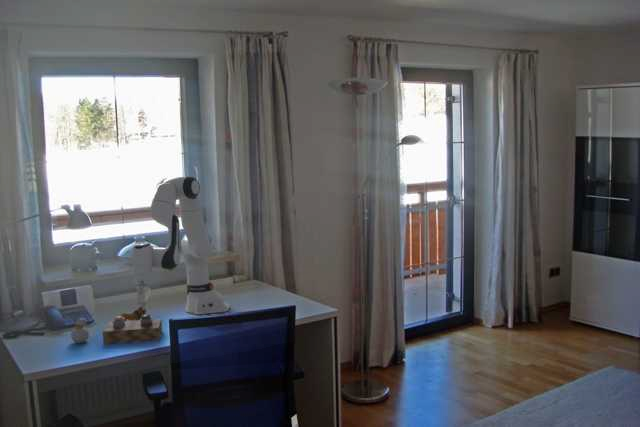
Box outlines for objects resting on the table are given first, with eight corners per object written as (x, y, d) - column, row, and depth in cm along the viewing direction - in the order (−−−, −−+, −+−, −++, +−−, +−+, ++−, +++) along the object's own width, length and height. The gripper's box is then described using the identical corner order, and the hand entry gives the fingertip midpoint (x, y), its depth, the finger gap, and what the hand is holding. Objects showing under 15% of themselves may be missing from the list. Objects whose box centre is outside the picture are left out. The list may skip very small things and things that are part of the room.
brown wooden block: (162, 331, 308) (161, 318, 307) (159, 340, 294) (158, 327, 294) (109, 334, 305) (108, 322, 304) (103, 344, 291) (102, 331, 290)
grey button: (152, 325, 302) (151, 313, 302) (151, 328, 298) (150, 316, 297) (142, 326, 302) (141, 314, 301) (141, 329, 297) (140, 317, 297)
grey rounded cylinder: (125, 327, 301) (124, 315, 300) (123, 330, 296) (122, 318, 296) (115, 327, 300) (114, 316, 299) (113, 330, 296) (112, 318, 295)
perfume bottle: (81, 338, 300) (79, 313, 299) (96, 341, 296) (94, 315, 294) (68, 343, 294) (65, 317, 292) (83, 346, 289) (81, 320, 288)
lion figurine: (146, 322, 324) (145, 304, 323) (148, 324, 319) (147, 306, 318) (115, 326, 317) (114, 308, 316) (117, 329, 313) (115, 311, 311)
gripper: (147, 283, 287) (148, 314, 289) (152, 273, 307) (154, 302, 309) (132, 284, 286) (134, 315, 288) (139, 274, 306) (140, 303, 308)
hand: (144, 308), depth 299 cm, fingers closed
